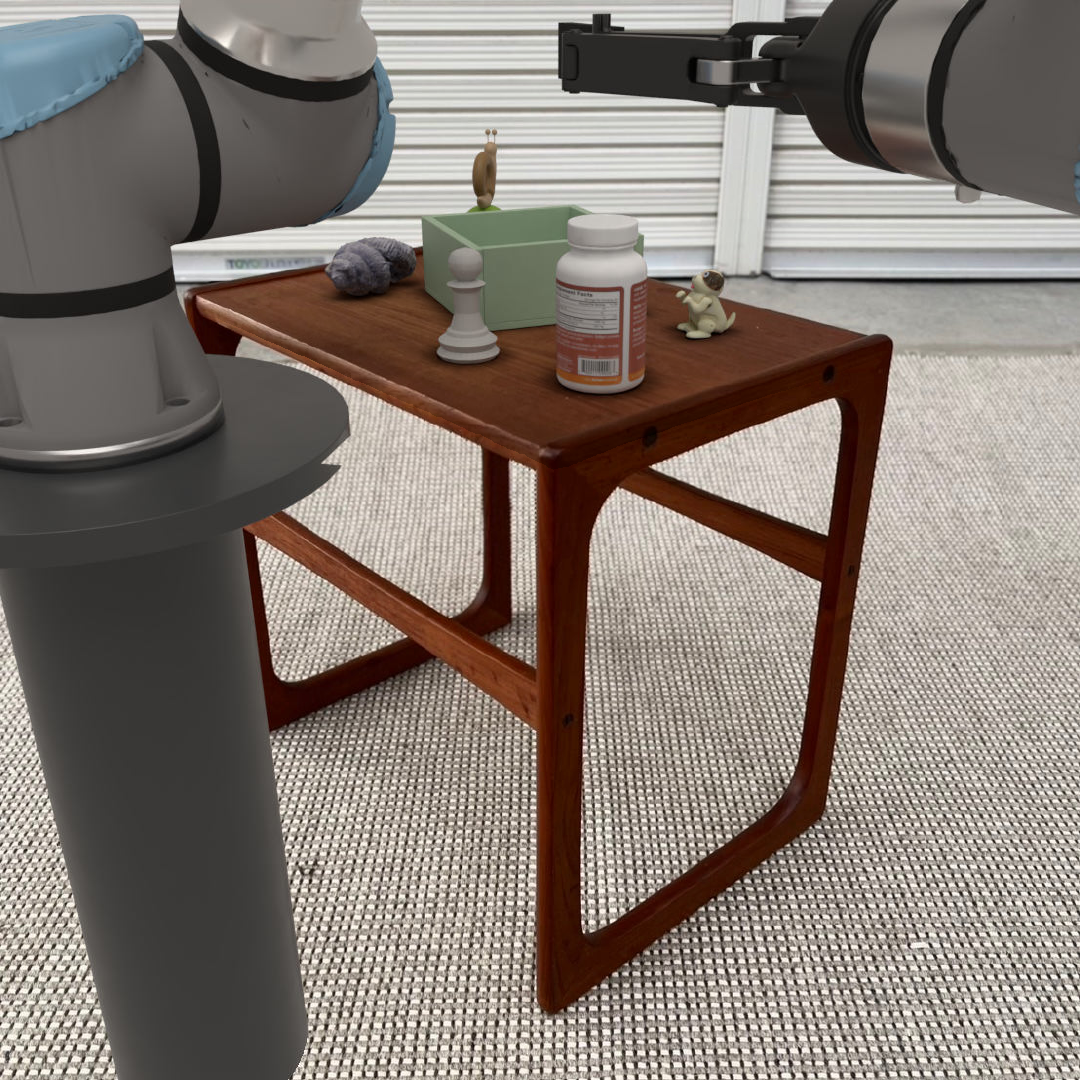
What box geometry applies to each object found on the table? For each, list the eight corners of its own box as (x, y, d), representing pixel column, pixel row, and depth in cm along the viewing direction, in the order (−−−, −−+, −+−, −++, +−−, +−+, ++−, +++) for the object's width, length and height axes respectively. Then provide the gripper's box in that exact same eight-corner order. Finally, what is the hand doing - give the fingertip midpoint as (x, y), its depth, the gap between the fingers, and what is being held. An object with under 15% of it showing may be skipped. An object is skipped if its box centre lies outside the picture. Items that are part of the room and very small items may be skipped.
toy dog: (672, 327, 92) (675, 265, 90) (732, 326, 92) (736, 264, 90) (678, 339, 89) (681, 276, 87) (740, 339, 89) (744, 275, 87)
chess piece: (424, 358, 85) (418, 249, 82) (460, 342, 89) (457, 237, 85) (476, 368, 83) (473, 257, 79) (511, 351, 86) (510, 244, 83)
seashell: (401, 292, 108) (334, 320, 100) (369, 243, 107) (299, 268, 99) (436, 262, 104) (370, 289, 97) (403, 211, 104) (334, 234, 96)
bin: (475, 333, 91) (473, 249, 88) (424, 290, 103) (421, 216, 100) (641, 314, 96) (644, 234, 93) (574, 276, 108) (574, 204, 105)
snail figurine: (520, 253, 117) (519, 129, 111) (507, 267, 111) (505, 137, 106) (468, 251, 118) (464, 128, 112) (453, 265, 112) (448, 136, 107)
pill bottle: (610, 362, 84) (614, 207, 79) (662, 385, 79) (669, 222, 74) (539, 377, 81) (538, 217, 76) (587, 402, 76) (590, 233, 71)
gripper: (640, 197, 42) (463, 131, 60) (1154, 158, 50) (864, 110, 68) (648, -32, 39) (458, -29, 57) (1198, -33, 47) (880, -31, 65)
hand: (680, 47), depth 62 cm, fingers open, 13 cm apart
